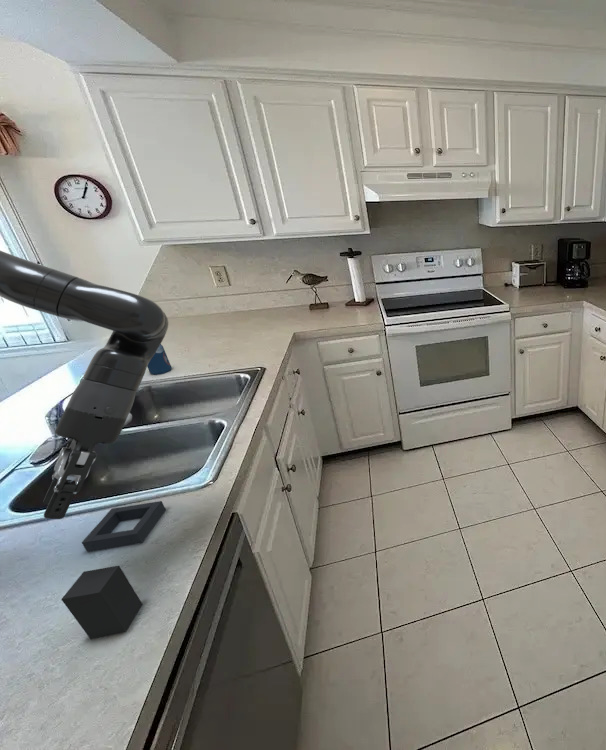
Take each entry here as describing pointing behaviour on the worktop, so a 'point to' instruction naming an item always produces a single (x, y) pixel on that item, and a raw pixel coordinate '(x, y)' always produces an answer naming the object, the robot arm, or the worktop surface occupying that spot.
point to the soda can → (159, 362)
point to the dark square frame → (106, 540)
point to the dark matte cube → (103, 602)
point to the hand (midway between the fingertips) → (52, 511)
